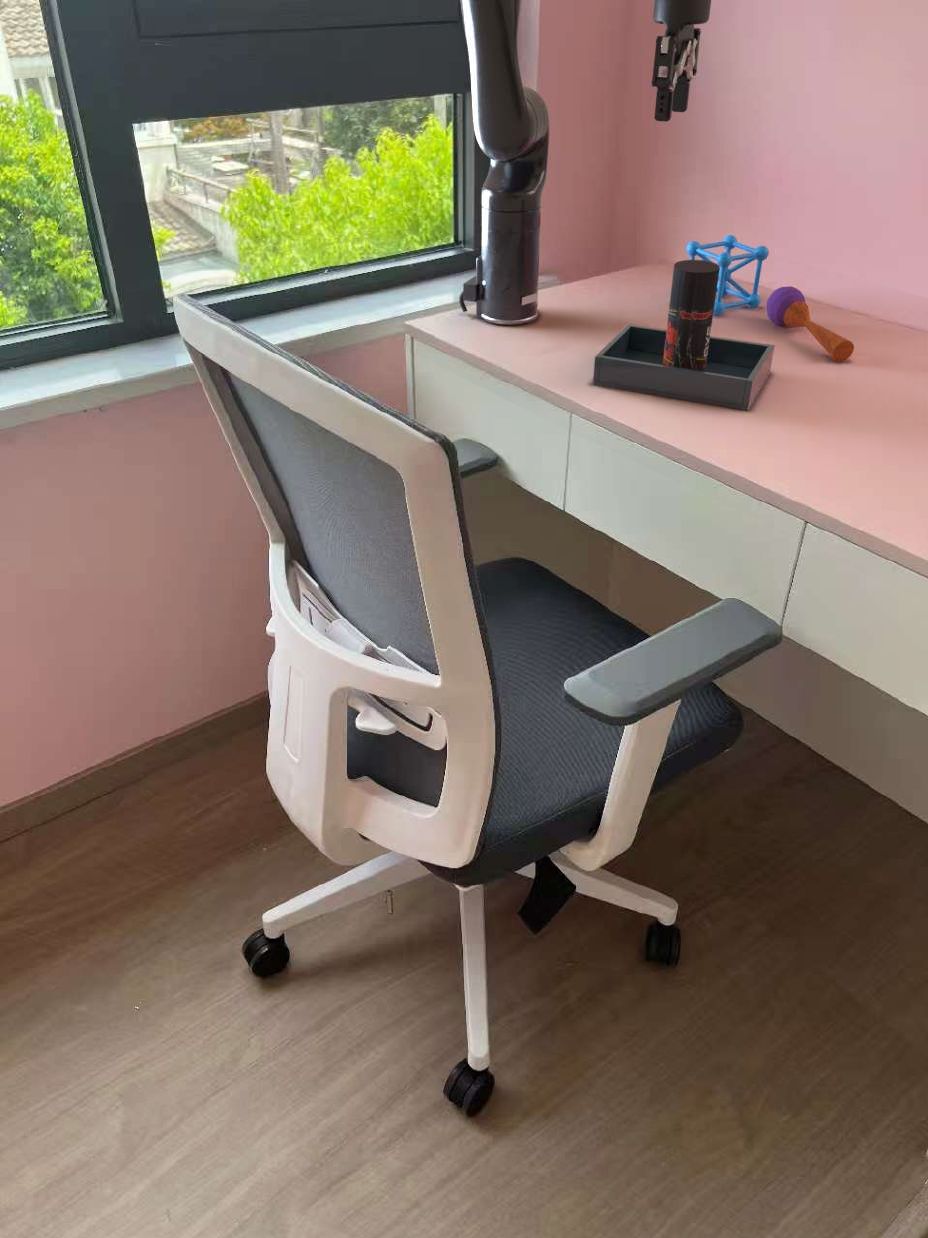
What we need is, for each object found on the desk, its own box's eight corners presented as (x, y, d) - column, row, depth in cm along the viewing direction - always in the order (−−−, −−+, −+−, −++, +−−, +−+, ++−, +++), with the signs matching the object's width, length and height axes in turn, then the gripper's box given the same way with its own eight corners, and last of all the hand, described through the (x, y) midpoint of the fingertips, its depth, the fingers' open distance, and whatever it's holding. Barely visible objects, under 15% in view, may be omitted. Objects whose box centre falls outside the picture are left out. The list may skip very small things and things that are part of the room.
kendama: (825, 337, 141) (759, 286, 156) (822, 375, 145) (758, 321, 160) (864, 326, 141) (794, 276, 156) (860, 364, 145) (792, 311, 160)
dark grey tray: (592, 384, 138) (594, 356, 135) (625, 350, 148) (627, 323, 146) (747, 410, 130) (752, 381, 128) (769, 372, 141) (774, 345, 138)
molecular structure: (677, 301, 167) (684, 240, 161) (723, 292, 171) (731, 232, 165) (715, 318, 160) (724, 254, 154) (762, 308, 164) (773, 246, 158)
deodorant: (704, 383, 136) (720, 273, 127) (660, 380, 137) (673, 271, 128) (704, 368, 141) (719, 260, 132) (662, 365, 142) (674, 258, 133)
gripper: (672, -22, 138) (659, 107, 147) (641, -17, 127) (630, 122, 137) (725, -21, 135) (709, 110, 145) (698, -16, 125) (683, 125, 134)
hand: (670, 115), depth 141 cm, fingers open, 8 cm apart
